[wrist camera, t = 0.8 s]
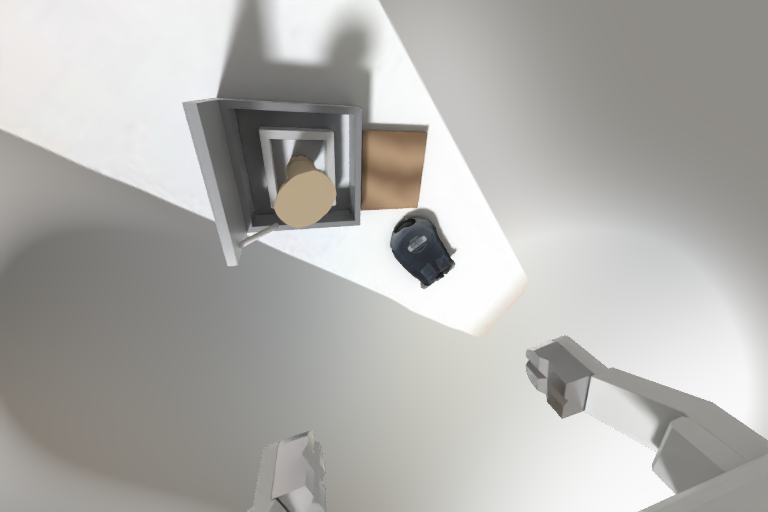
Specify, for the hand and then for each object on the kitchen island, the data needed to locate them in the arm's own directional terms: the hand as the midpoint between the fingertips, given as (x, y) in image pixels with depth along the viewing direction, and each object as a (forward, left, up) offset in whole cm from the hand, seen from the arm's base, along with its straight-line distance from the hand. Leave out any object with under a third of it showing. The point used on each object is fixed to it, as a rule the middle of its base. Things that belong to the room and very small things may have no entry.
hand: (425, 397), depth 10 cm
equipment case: (0, -3, -37) cm, 37 cm away
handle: (0, -3, -37) cm, 38 cm away
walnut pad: (+1, +11, -37) cm, 39 cm away
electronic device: (+16, +18, -38) cm, 45 cm away
